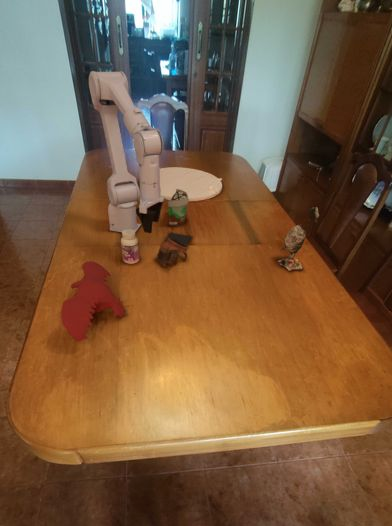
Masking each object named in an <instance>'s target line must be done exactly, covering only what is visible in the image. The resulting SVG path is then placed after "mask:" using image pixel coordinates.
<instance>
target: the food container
mask: <svg viewBox="0 0 392 526" xmlns="http://www.w3.org/2000/svg"><path fill="white" fill-rule="evenodd" d="M189 202H190V201H189V199H188V195H187V193H186V192H185V191H183V190H179V189H176V193H175V194H174V195H173V197H172V199H171V200H168V203H167V207H168V226H169V227H180V226H183V225H184V224H185V222H186V215H187V204H188V203H189Z"/></svg>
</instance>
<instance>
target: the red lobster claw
mask: <svg viewBox="0 0 392 526" xmlns="http://www.w3.org/2000/svg"><path fill="white" fill-rule="evenodd" d="M81 269H82V271H83V274H84V275H83V277H82V279H81V280H80V279H79V280H78V281H75V282H73V283H71V284H70V288H71V289H72V290H73V289H77V290H76V292H75V293H74V295H73V296H72V297H70V298H68V299H65V300H64V301H62V306H61V310H60V315H61V324H62V326H63V327H64V328H65V330H66V331H67V332H68V334H69V335H70V337H71V338H73V339H74V340H75V341H77V342H78V343H82V342H83V341H84V340H87V339H88V336H87V335H86V334H88V333H89V332H90V330H89V328H88V327H92V326H93V323H92V322H91V320H92V319H94V316H93V314H97V313H99V312H103V311H105V310H107V309H109V308H110V309H111V311H112V312H113V316H114V317H115V316H116V318H118V317H119V318H120V319H123V317H124V316H126V314H125V309H124V307H125V305H123V301H121V298H120V297H119V298H118V299H117V297H116V295H115V294H114V293H113V291H112V289H111V288H110V286H109V285H108V284H107V279H109V277H111V276H112V275H111V274H110V273H109V271H108V270H107V269H106V268H105V267H104V266H103V265H101V264H99V263H98V262H96V261H92V260H90V261H85V262H83V263H82V265H81Z"/></svg>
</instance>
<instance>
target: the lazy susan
mask: <svg viewBox="0 0 392 526" xmlns="http://www.w3.org/2000/svg"><path fill="white" fill-rule="evenodd" d="M138 180H139V179H138ZM222 180H223V177H222V178H221V177H219V178H218V177H217V176H215V175H214V174H212V173H209V172H206V171H203V170H200V169H195V168H189V167H178V166H177V167H176V166H175V167H172V166H171V167H161V168H160V188H161V197H164V198H165V200H168V201H169V200H171V199H172V197H173V195H174V194H175V193H176V189H179V190H183V191H185V192H186V193H187V195H188V199H189V202H198V201H203V200H209V199H212V198H214V197H216V196H218V195H219V194H221V192H222V190H223V183H222ZM138 182H139V183H140V180H139V181H138Z"/></svg>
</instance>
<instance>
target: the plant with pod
mask: <svg viewBox="0 0 392 526" xmlns="http://www.w3.org/2000/svg"><path fill="white" fill-rule="evenodd" d="M308 217H309V220H308V223H307V225H306V227H305V229H303V227H302V226H301V223H299V224H297V225H294V226H293V227H292V228H291V229H290V230H289V231H288V232H287V233H286V235H285V237H284V242H283V245H284V246H283V247H281V251H282V250H284V249H286V250H287V251H288V252H289V256H287V257H284V258H277V259H276V261H277V263H278V264H279V265H280V266H283V267H284V268H286V270H288V271H289V272H291V271H295V270H301V271H303V270H305V268H304V267H303V266H302V263H301V261H299V259H298V258H296V257H295V256H296V254H298V253H299V252H300V250H301V249H302V247H303V245H304V243H305V240H306V236H307V235H306V232H307V230H308V227H309V226H310V224H311V222H312V220H313V221H314V222H315V224H317V222H318V221H317V219H318V218H319V217H320V214H319V207H317V206H315V207H314V206H313V207H311V208H310V209H309V216H308Z"/></svg>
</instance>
